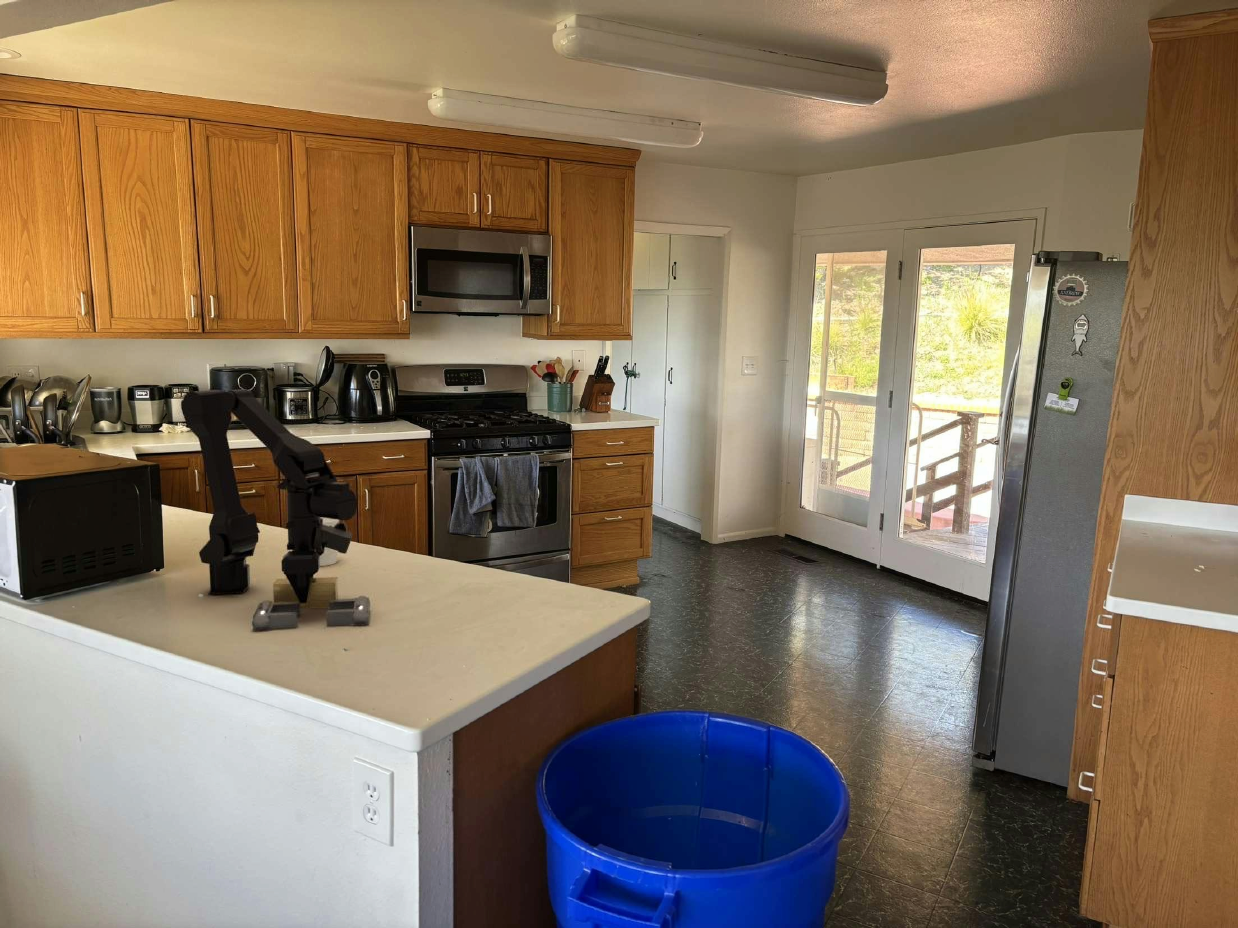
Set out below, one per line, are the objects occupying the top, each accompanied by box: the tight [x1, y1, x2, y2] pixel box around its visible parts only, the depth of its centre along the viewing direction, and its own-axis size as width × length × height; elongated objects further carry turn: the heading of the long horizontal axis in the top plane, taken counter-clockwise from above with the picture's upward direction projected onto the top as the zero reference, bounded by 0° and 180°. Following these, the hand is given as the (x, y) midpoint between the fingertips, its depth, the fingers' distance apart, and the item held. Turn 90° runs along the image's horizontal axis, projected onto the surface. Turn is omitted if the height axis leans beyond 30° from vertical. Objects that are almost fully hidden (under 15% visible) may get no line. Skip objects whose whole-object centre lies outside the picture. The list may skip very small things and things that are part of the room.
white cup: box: [320, 517, 340, 567], centre depth 191 cm, size 8×8×10 cm
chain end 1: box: [251, 599, 302, 632], centre depth 154 cm, size 7×8×3 cm
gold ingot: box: [272, 576, 339, 609], centre depth 163 cm, size 11×3×5 cm, turn 102°
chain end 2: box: [326, 595, 371, 627], centre depth 157 cm, size 7×8×3 cm
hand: (306, 595), depth 163 cm, fingers open, 9 cm apart
